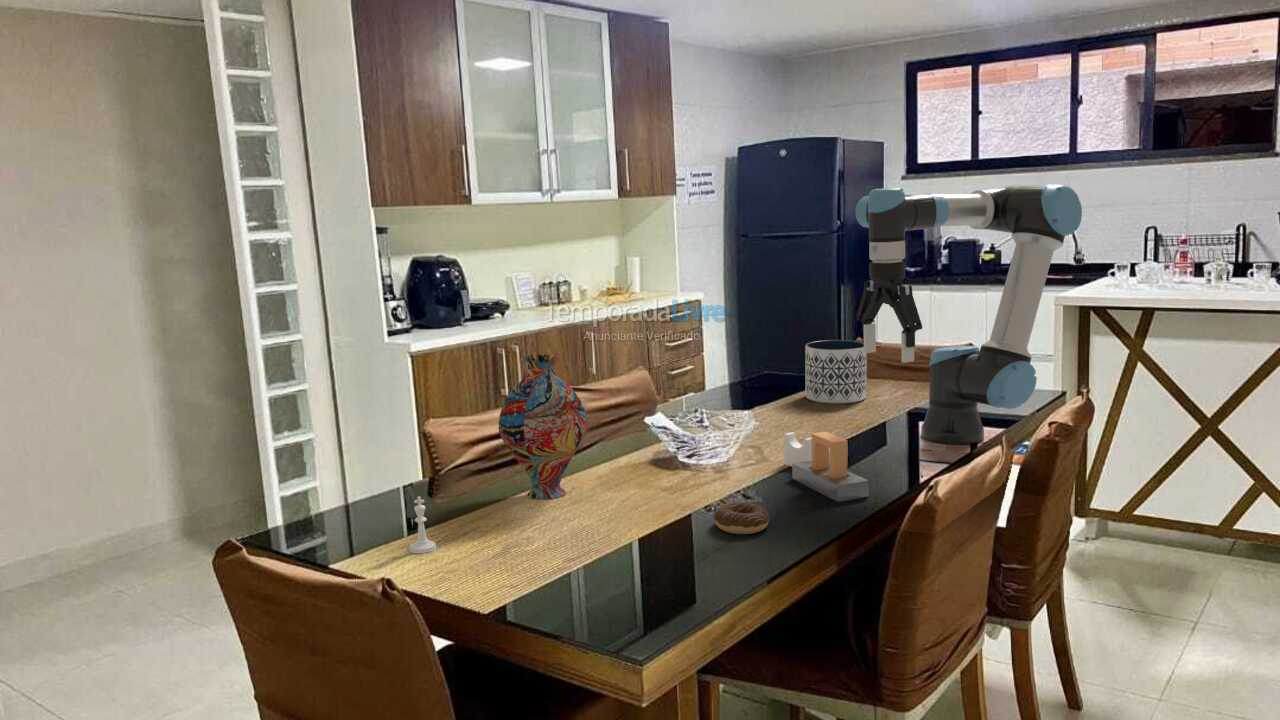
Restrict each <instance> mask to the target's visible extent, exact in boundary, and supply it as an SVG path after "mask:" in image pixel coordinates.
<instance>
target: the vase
mask: <svg viewBox="0 0 1280 720" xmlns="http://www.w3.org/2000/svg"><path fill="white" fill-rule="evenodd" d="M559 358H560V357H559V355H556V354H549V353H548V354H547V353H546V354H544V353H542V354H529V355H525V356H523V357H521V358H520V361H521V362H522V363H523V364H524V367H525V374H524V376H523V378H522V379H521V380H520V381H519V382H518V383H517V385H515V387H513V388H512V389H511V391H509V394H508V395H507V397H506V399H505V401H504V402H503V405H502V407H501V410H500V413H499V418H498V432H499V436H500V438H501V440H502V441H503V443H504V444H505V446H506V447H507V448H508V450H509V451H510V452H511V454H512V455H513V457H514V458H515V459H516V460H517V462H518V463H519V465H520V466H521V468H522V469H523V471H524V472H525V473H526V475H527V477H528V478H529V481H530V483H531V486H532V488H531V490H529V491H528V492H527V494H526V496H527V497H528V498H530V499H533V500H540V501H543V500H544V501H546V500H554V499H559V498H561V497H564V496H565V495H566V494H567V491H566V490H565V489H564V488H562V487H561V482H562V479H563V478H562V477H563V476H564V474H565V471H566V469H567V467H568V466H569V464H570V462H571V460H572V459H573V457H574V455H575V453H576V451H577V449H578V448H579V446H580V444H581V443H582V442H583V440H584V437H585V435H586V433H587V430H588V417H587V413H586V409H585V407H584V404H583V403H582V400H581V399H580V397H579V396H578V394H577V393H576V392H575V390H574V389H573V388H572V387H571V386H570V385H568V383H566V381H564V380H563V379H562V378H560V377H559V376H558V374H557V372H556V371H555V369H556V367H555V365H556V363H557V361H558V360H559Z"/></svg>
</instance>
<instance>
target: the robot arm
mask: <svg viewBox="0 0 1280 720" xmlns="http://www.w3.org/2000/svg"><path fill="white" fill-rule="evenodd" d="M1081 203H1082V202H1081V200H1080V198H1079V195H1078V194H1077V192H1076V191H1075V190H1074V189H1073V188H1071V186H1070V187H1069V186H1068V185H1065V184H1054V183H1049V184H1032V185H1031V184H1029V185H1028V184H1027V185H1026V184H1024V185H1021V184H1020V185H1019V184H1018V185H1010V186H1002V187H997V188H991V189H989V188H988V189H978V190H973V191H972V192H971V193H968V194H967V193H966V194H962V193H961V194H960V193H959V194H953V193H952V194H939V193H925V194H905V190H904V188H901V187H888V188H887V187H886V188H875V189H872V190H871V191H869V193H868V195H865V196H863V197H862V198H860V199H859V201H858V202H857V204H856V205H855V219H856V221H857V223H858V224H859V225H860V226H861V227H863V228H868V243H869V246H868V247H869V248H868V250H869V254H868V255H869V260H870V261H871V262H869V265H868V266H869V267H868V269H869V272H868V275H869V278H870V280H865V281H864V283H863V292H862V296H861V300H860V303H859V305H858V306H859V307H858V309H857V312H856V320H857V321H860V322H861V324H862V337H863V343H864V353H867V354H870V353H871V354H872V353H876V352H877V341H876V340H877V337H876V336H877V335H876V333H877V331H876V323H875V322H876V321H875V319H876V318H877V315H878V314H879V311H880V310H881V307H883V305H884V304H885V305H888V306H889V307H890V308H892V309H893V312H894V313H895V316H896V317H897V320H898V322H899V323H900V325H901V327H902V331H901V332H900V333H901V334H900V335H901V336H900V337H901V339H900V342H901V345H900V346H901V363H902V364H904V363H912V362H915V346H916V331H919V330H923V324H922V320H921V318H920V314H919V311H918V308H917V305H916V301H915V299H914V294H913V286H912V285H911V284H905V285H902V284H903V283H902V280H903V279H904V278H905V277H906V262H905V258H906V232H908V231H916V230H917V231H919V230H932V229H935V228H941V227H962V226H963V227H964V226H966V227H968V226H969V227H970V228H972V229H974V230H989V231H996V232H1003V233H1009V234H1010V233H1011V235H1010V236H1011V237H1012V240H1013V241H1014V242H1015V246H1014V250H1013V254H1012V258H1011V262H1010V265H1009V268H1008V272H1007V276H1006V279H1005V282H1004V287H1003V290H1002V293H1001V294H1002V295H1001V298H1000V301H999V305H998V309H997V313H996V316H995V319H994V324H993V327H992V330H991V333H990V338H989V339H988V340H987V341H986V342H985V343H983V344H981V346H980V349H979V346H976V345H961V346H960V345H959V346H947V347H940V348H935V349H933V350H932V351H931V353H930V358H929V359H930V360H929V364H928V365H929V366H928V367H929V368H928V370H929V372H928V374H929V375H928V376H929V384H928V388H929V389H928V390H929V392H928V396H929V399H928V408H927V411H926V414H925V417H924V420H923V423H922V425H921V431H920V433H921V435H920V436H921V438H924V439H925V440H927V441H931V442H935V443H941V444H942V443H943V444H950V445H965V444H974V443H978V442H981V441H983V440H984V439H985V429H984V426H983V423H982V422H983V421H982V419H981V415H980V413H979V408H978V404H982V405H987V406H990V407H993V408H996V409H1007V410H1008V409H1009V410H1013V409H1016V408H1019V407H1021V406H1022V405H1023V404H1025V403H1026V402H1027V401H1028V400H1029V399H1030V398H1031V396H1032V395H1033V393H1034V390H1035V389H1036V385H1037V377H1038V376H1037V375H1036V373H1037V372H1036V371H1037V370H1036V369H1035V367H1034V366H1033V364H1031V361H1032V358H1033V357H1032V355H1031V353H1030V352H1029V351H1028V346H1029V342H1030V338H1031V335H1032V332H1033V329H1034V328H1033V327H1034V324H1035V320H1036V317H1037V313H1038V310H1039V306H1040V302H1041V299H1042V295H1043V291H1044V288H1045V284H1046V282H1047V281H1046V280H1047V277H1048V274H1049V273H1048V272H1049V269H1050V266H1051V263H1052V260H1053V256H1054V252H1055V251H1056V250H1058V249H1060V248H1062V247H1063V245H1064V241H1065V238H1066V236H1067V237H1068V236H1070V235H1072V234H1074V233H1075V231H1077V230H1078V229H1079V227H1080V225H1081V223H1082V215H1083V208H1082V204H1081Z"/></svg>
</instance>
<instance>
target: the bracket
mask: <svg viewBox="0 0 1280 720" xmlns="http://www.w3.org/2000/svg"><path fill="white" fill-rule="evenodd" d="M829 449H830V448H829ZM806 461H812V436H810V437H807V438H804V443H803V445H802V444H801V443H800V442H799V441H798V438H797V436H796V432H792V431H791V432H788V433H784V465H785V466H789V467H792V463H799V462H806Z"/></svg>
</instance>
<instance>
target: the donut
mask: <svg viewBox="0 0 1280 720" xmlns="http://www.w3.org/2000/svg"><path fill="white" fill-rule="evenodd" d="M713 520H714V523H715V525H716V526H717V528H719V529H720V530H722V531H723V532H726V533H729V534H734V535H750V534H751V535H752V534H755V533H759V532H761V531H763V530H764V529H765V528H767V526H768V524H769V522H770V515H769V513H768V511H767V510H766V509H765V508H763V507H762V506H760V505H759V504H758V505H757V504H756V503H750V502H740V501H737V502H728V503H727V502H726V503H723V504H721V505H720V506H719V507H718V508H717V509H716V511H715V512H714V516H713Z"/></svg>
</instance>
